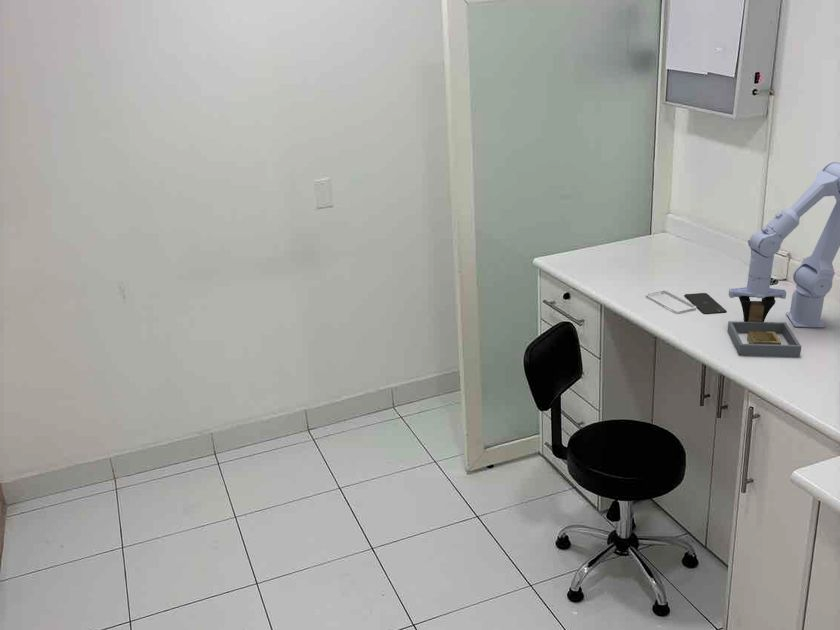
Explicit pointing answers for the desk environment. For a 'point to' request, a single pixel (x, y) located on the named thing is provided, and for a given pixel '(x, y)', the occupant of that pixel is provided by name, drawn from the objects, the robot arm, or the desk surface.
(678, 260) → the desk surface
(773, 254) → the robot arm
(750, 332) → the frame
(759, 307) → the walnut peg
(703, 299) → the smartphone
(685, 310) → the phone case
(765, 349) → the walled box
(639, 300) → the desk surface
